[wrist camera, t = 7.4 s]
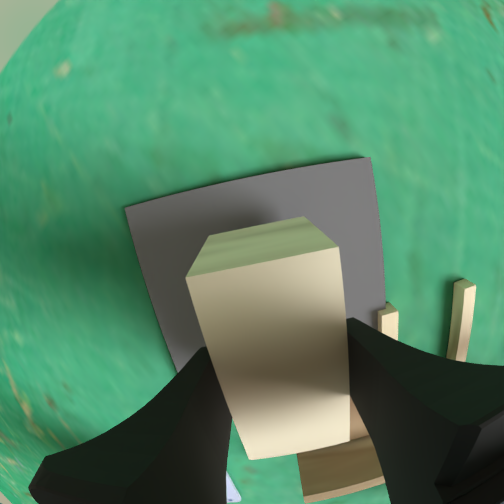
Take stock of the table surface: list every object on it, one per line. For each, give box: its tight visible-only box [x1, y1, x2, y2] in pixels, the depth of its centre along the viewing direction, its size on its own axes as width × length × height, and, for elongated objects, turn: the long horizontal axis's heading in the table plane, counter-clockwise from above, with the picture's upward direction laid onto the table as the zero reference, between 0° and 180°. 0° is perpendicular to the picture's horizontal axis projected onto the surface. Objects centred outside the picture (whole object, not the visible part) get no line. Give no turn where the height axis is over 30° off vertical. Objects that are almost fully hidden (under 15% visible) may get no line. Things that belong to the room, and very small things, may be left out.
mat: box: [125, 157, 386, 372], centre depth 15 cm, size 12×12×1 cm
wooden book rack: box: [297, 279, 476, 503], centre depth 15 cm, size 11×13×5 cm
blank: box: [185, 216, 350, 460], centre depth 11 cm, size 8×4×5 cm, turn 12°
